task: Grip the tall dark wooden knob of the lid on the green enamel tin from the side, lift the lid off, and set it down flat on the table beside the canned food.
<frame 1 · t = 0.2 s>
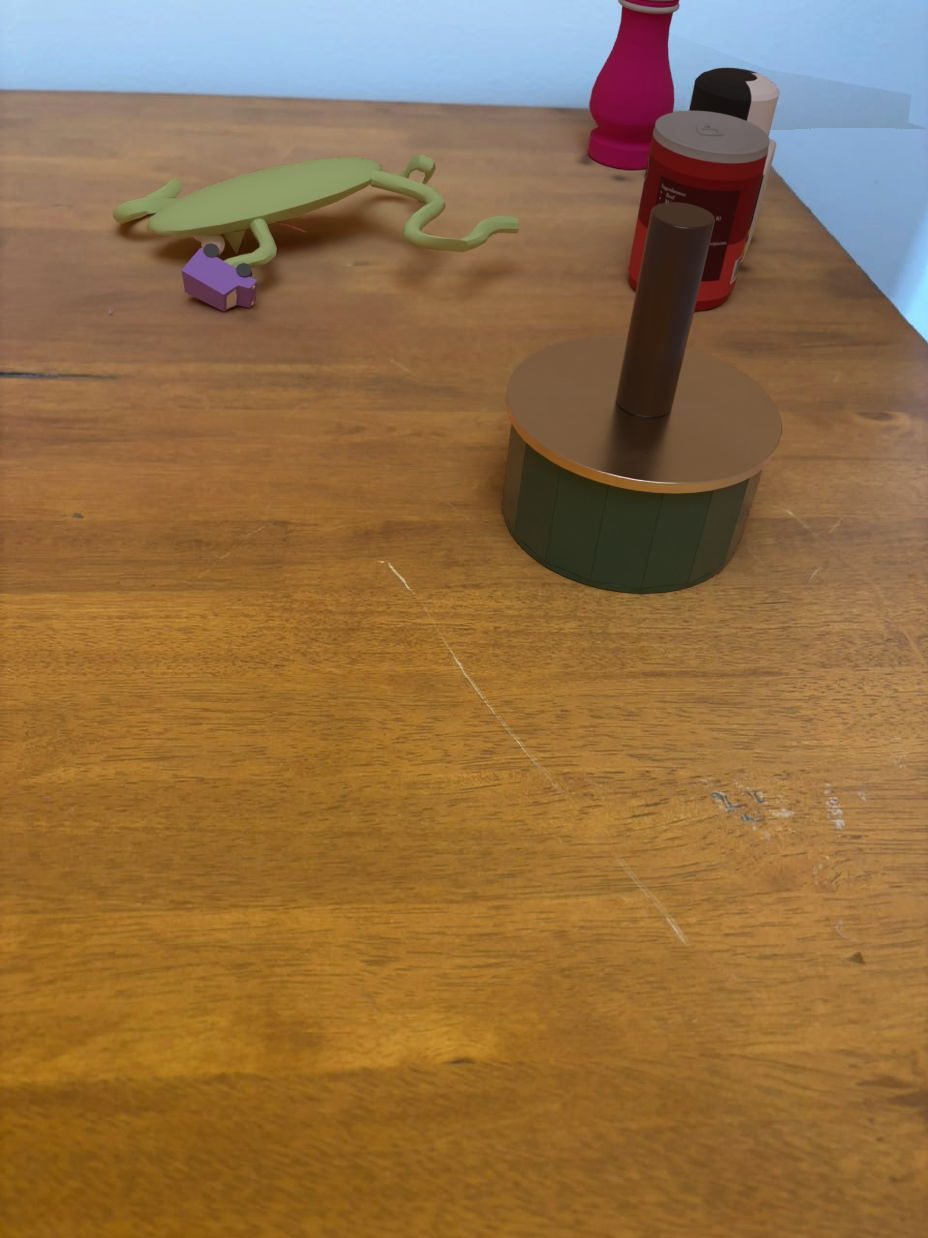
medicine bottle: (702, 240, 89), on the table
tin: (620, 516, 61), on the table
tin lid: (641, 413, 57), point 6 cm above the table, touching tin
figurine: (319, 254, 82), on the table
canned food: (678, 289, 82), on the table
pepper mill: (622, 158, 101), on the table
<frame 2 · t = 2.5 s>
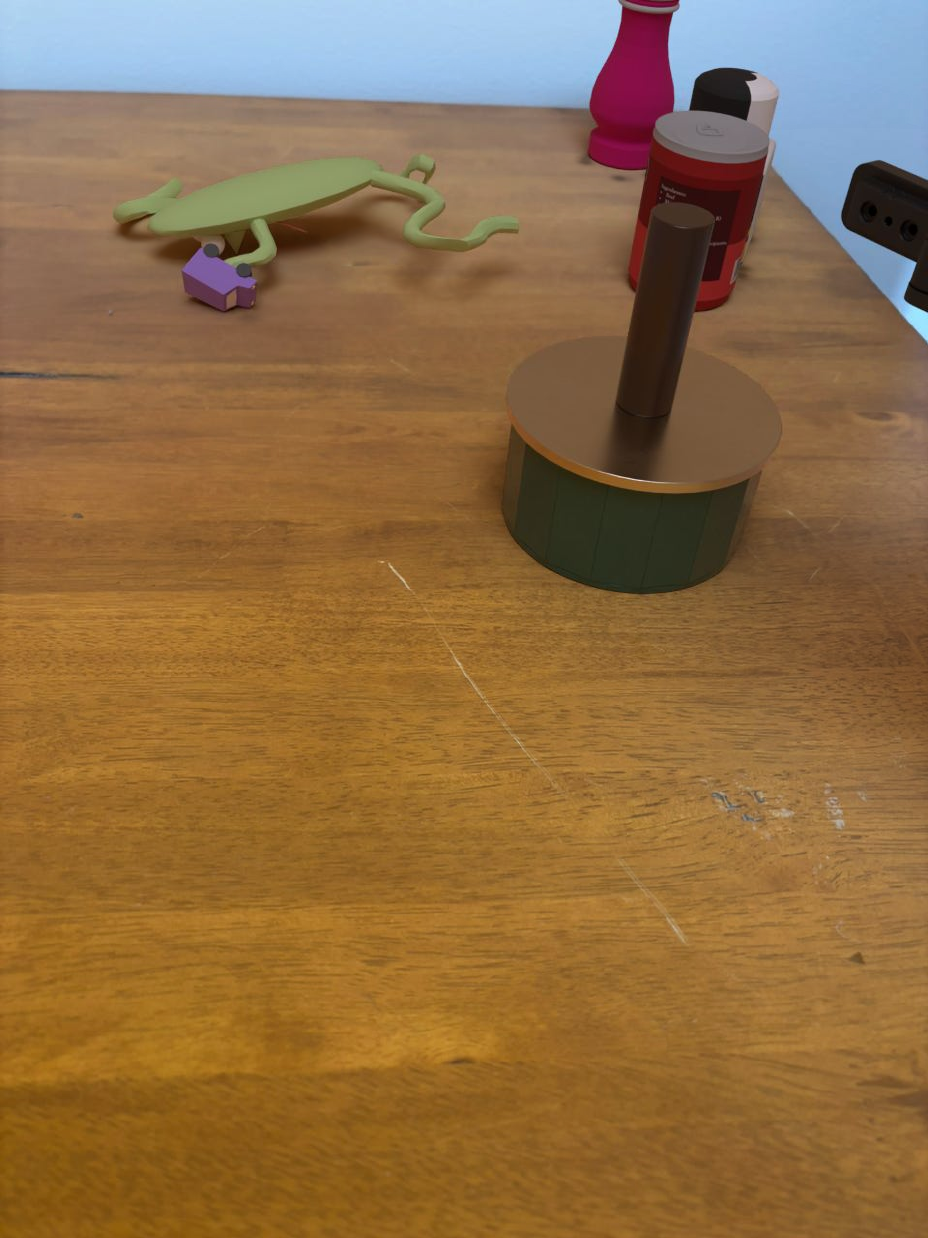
nothing on the table moved.
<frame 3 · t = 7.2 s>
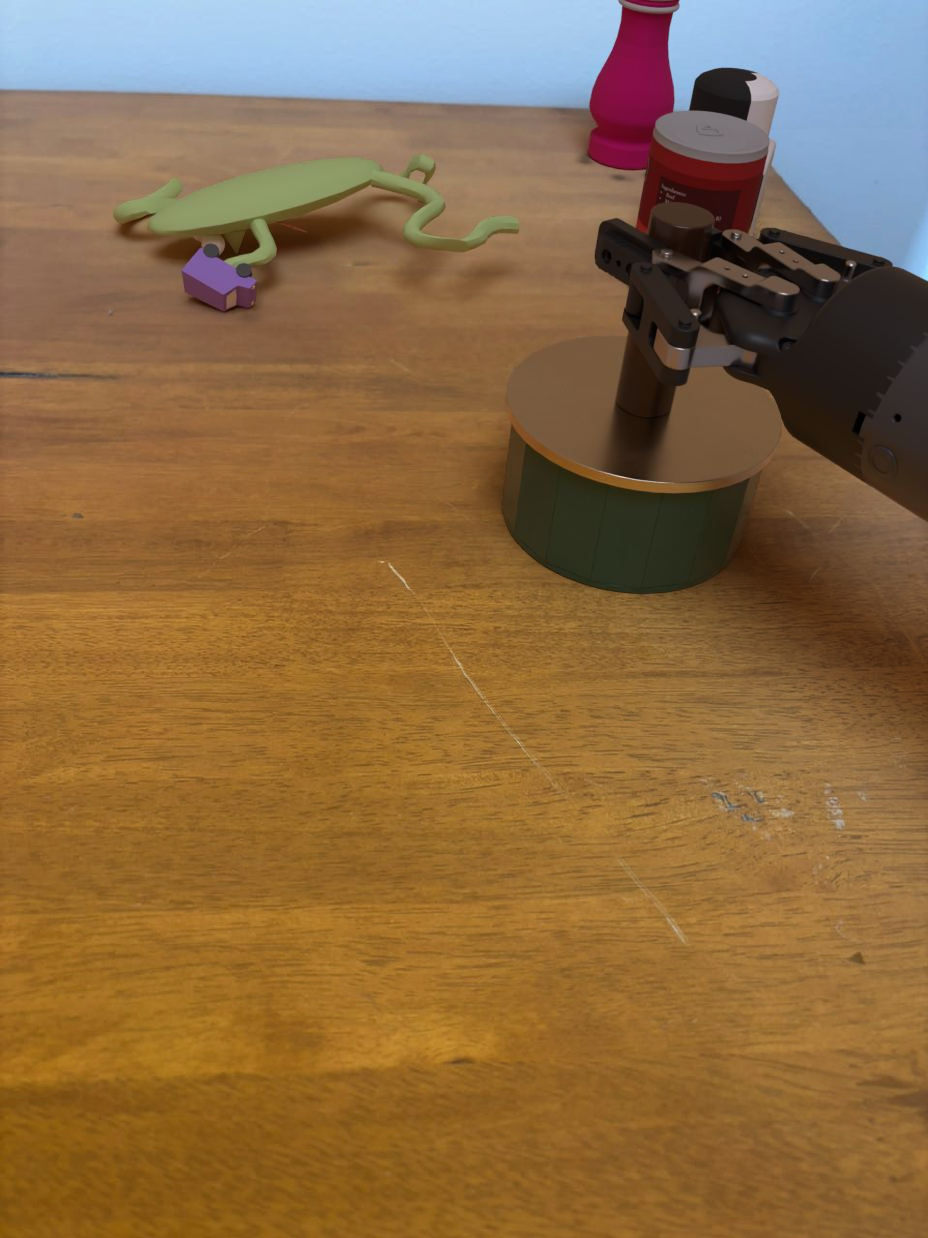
hand: (630, 233, 53), 15 cm above the table, tool horizontal, fingers closed on tin lid, 2 cm apart
tin lid: (641, 413, 57), point 6 cm above the table, touching gripper, tin
everything else where it was.
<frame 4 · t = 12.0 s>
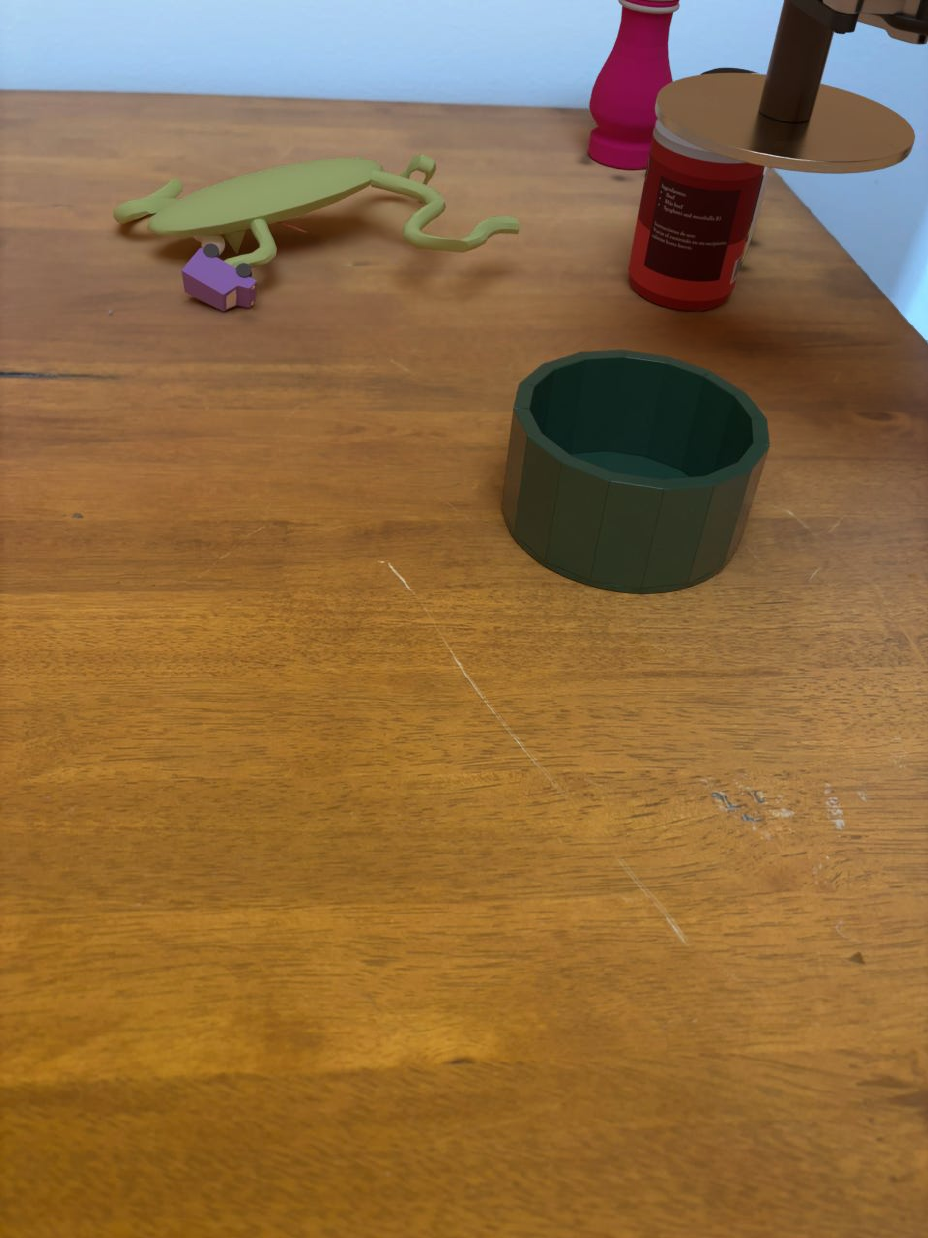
tin lid: (781, 125, 61), point 16 cm above the table, touching gripper
everything else where it was.
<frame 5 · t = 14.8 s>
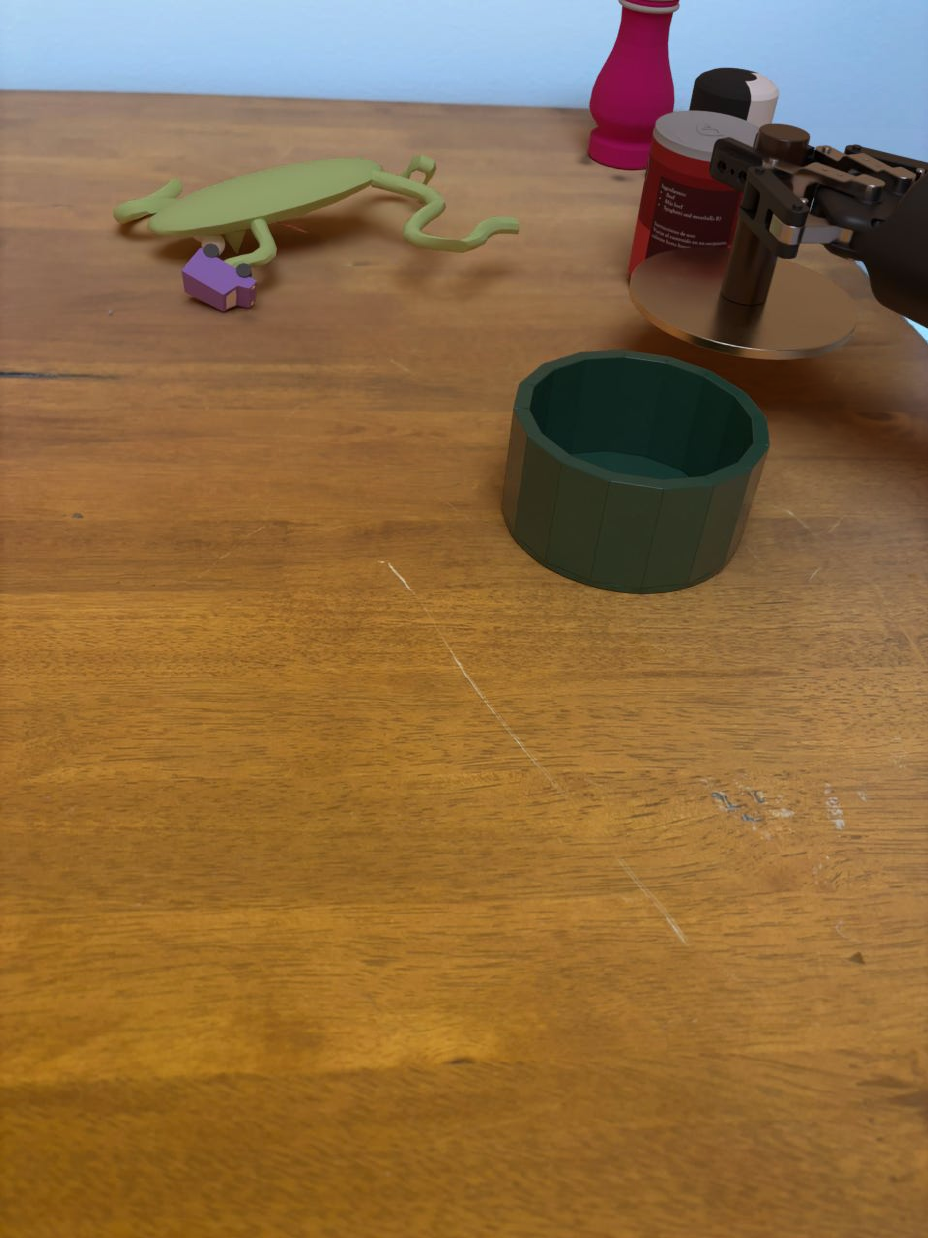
hand: (737, 151, 65), 13 cm above the table, tool horizontal, fingers closed on tin lid, 3 cm apart
tin lid: (741, 303, 69), point 5 cm above the table, touching gripper
everything else where it was.
when the fingers open (9 cm above the table, at t = 16.6 s): tin lid stays where it is, point 1 cm above the table.
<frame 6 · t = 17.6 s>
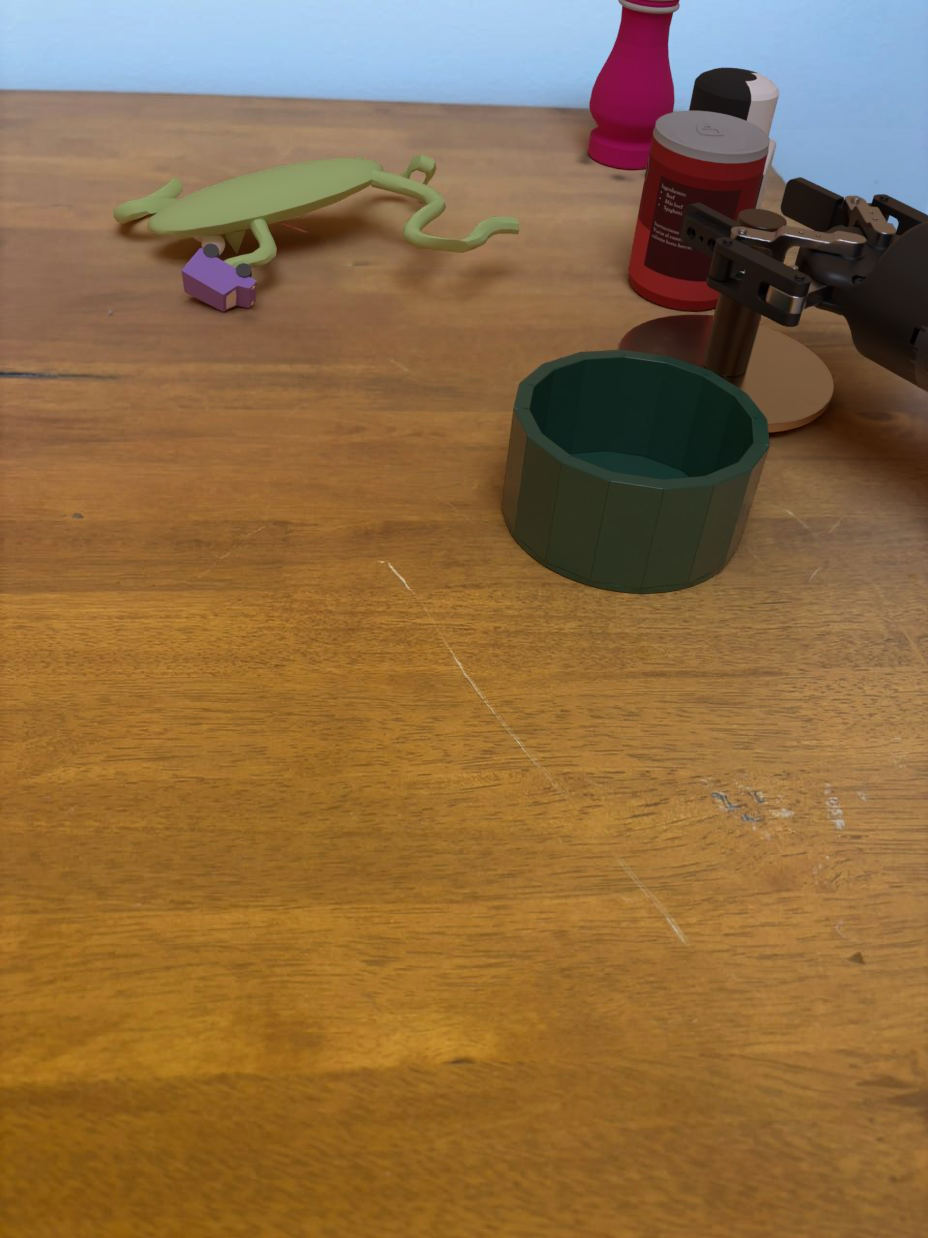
hand: (738, 206, 67), 11 cm above the table, tool horizontal, fingers open, 8 cm apart
tin lid: (722, 373, 72), point 1 cm above the table
everything else where it was.
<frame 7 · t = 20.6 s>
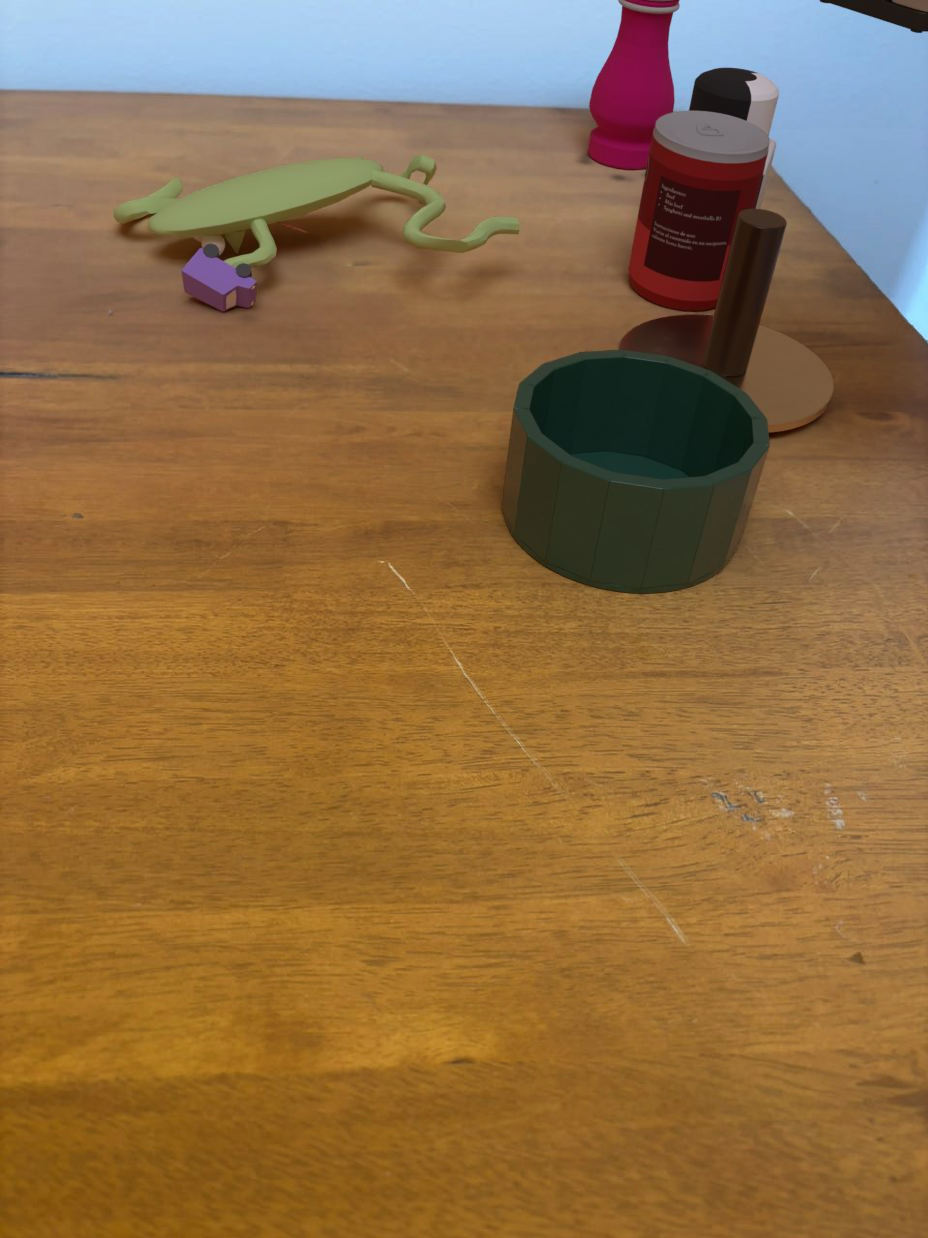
nothing on the table moved.
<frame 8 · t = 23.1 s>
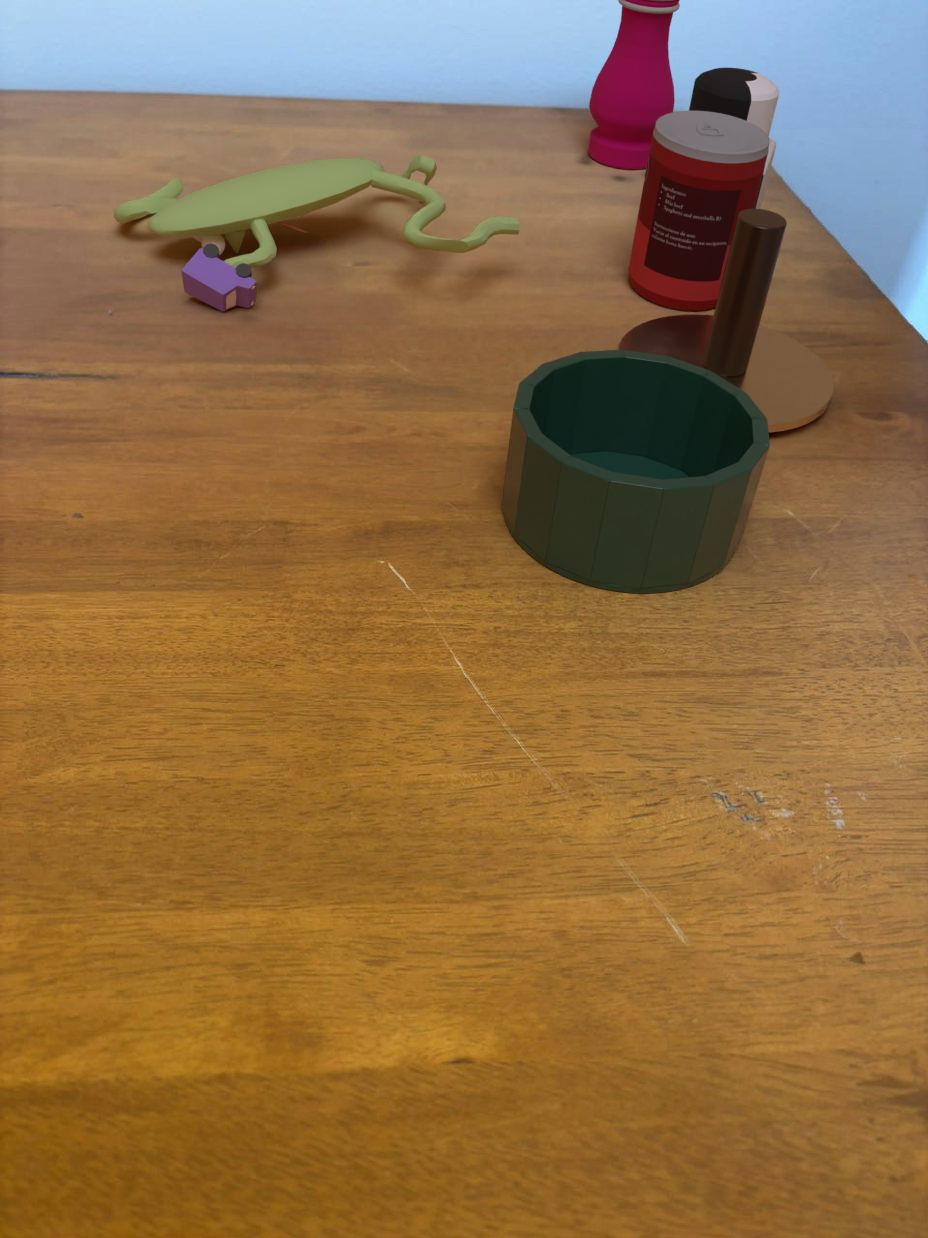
nothing on the table moved.
at the end: tin lid point 0.6 cm above the table; tin lid 13.2 cm from the canned food (horizontally); tin lid tilted 0° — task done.
